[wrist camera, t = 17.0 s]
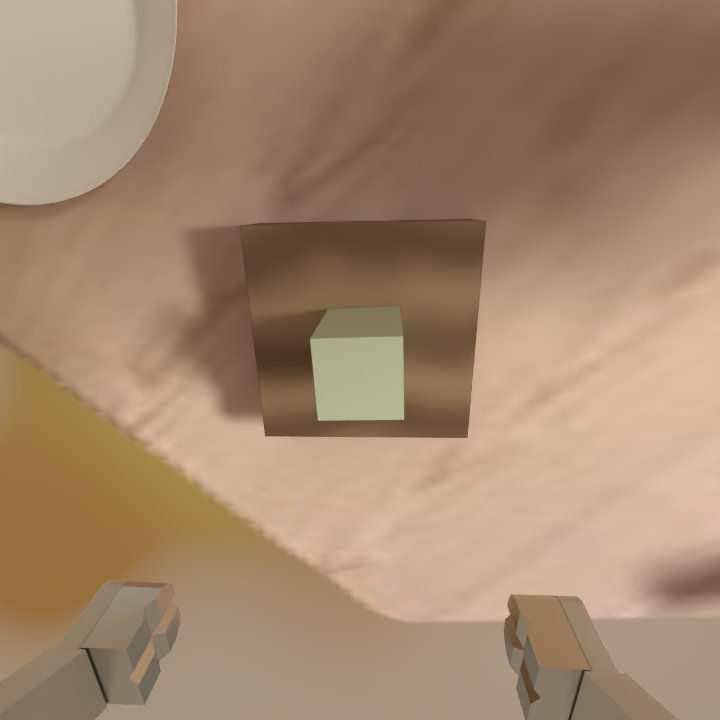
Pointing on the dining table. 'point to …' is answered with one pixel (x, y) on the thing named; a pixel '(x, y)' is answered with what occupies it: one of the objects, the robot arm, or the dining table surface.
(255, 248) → the walnut block
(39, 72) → the white plate
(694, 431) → the dining table surface
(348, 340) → the sage block
